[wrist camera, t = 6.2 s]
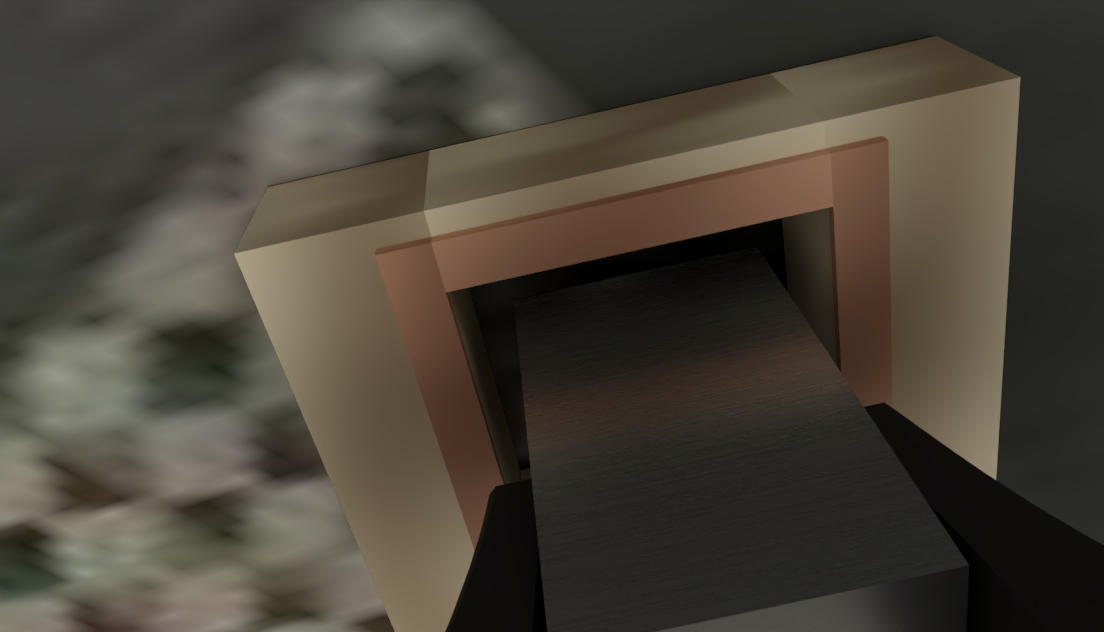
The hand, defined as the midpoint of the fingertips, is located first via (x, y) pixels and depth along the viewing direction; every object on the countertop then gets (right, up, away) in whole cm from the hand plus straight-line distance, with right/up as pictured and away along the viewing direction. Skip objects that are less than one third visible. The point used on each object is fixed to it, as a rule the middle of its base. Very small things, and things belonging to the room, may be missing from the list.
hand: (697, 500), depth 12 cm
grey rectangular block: (0, +2, +3) cm, 4 cm away
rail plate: (+1, -2, +7) cm, 7 cm away
